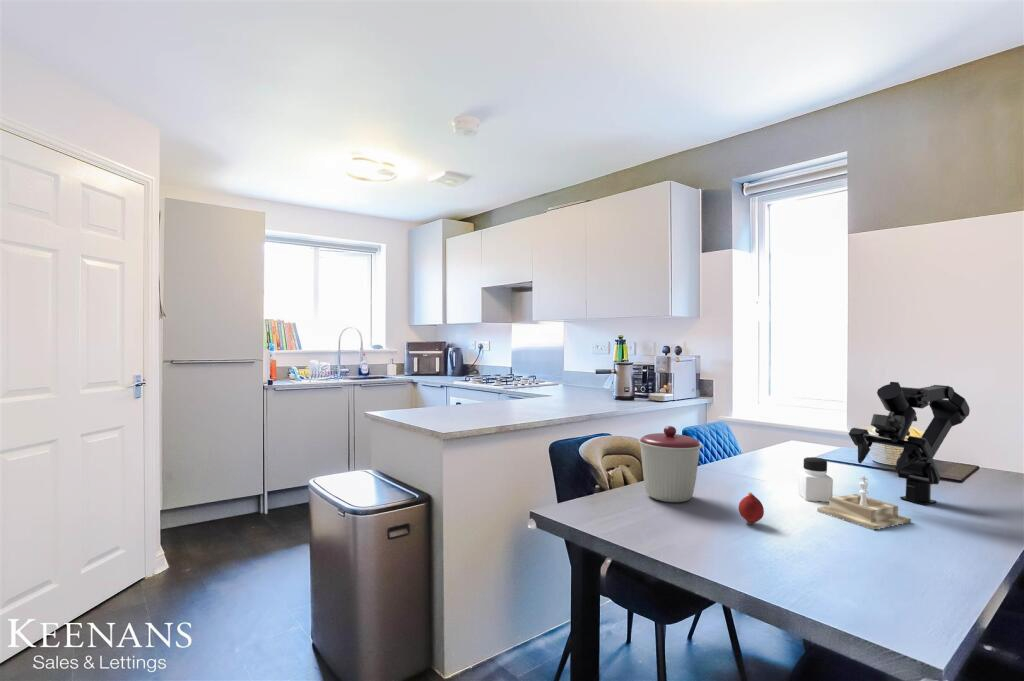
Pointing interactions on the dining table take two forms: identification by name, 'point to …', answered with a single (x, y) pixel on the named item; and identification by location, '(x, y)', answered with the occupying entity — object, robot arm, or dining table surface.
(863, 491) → the chess piece
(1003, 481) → the dining table surface
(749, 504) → the onion
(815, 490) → the medicine bottle
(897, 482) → the dining table surface
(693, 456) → the canister
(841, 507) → the socket block
